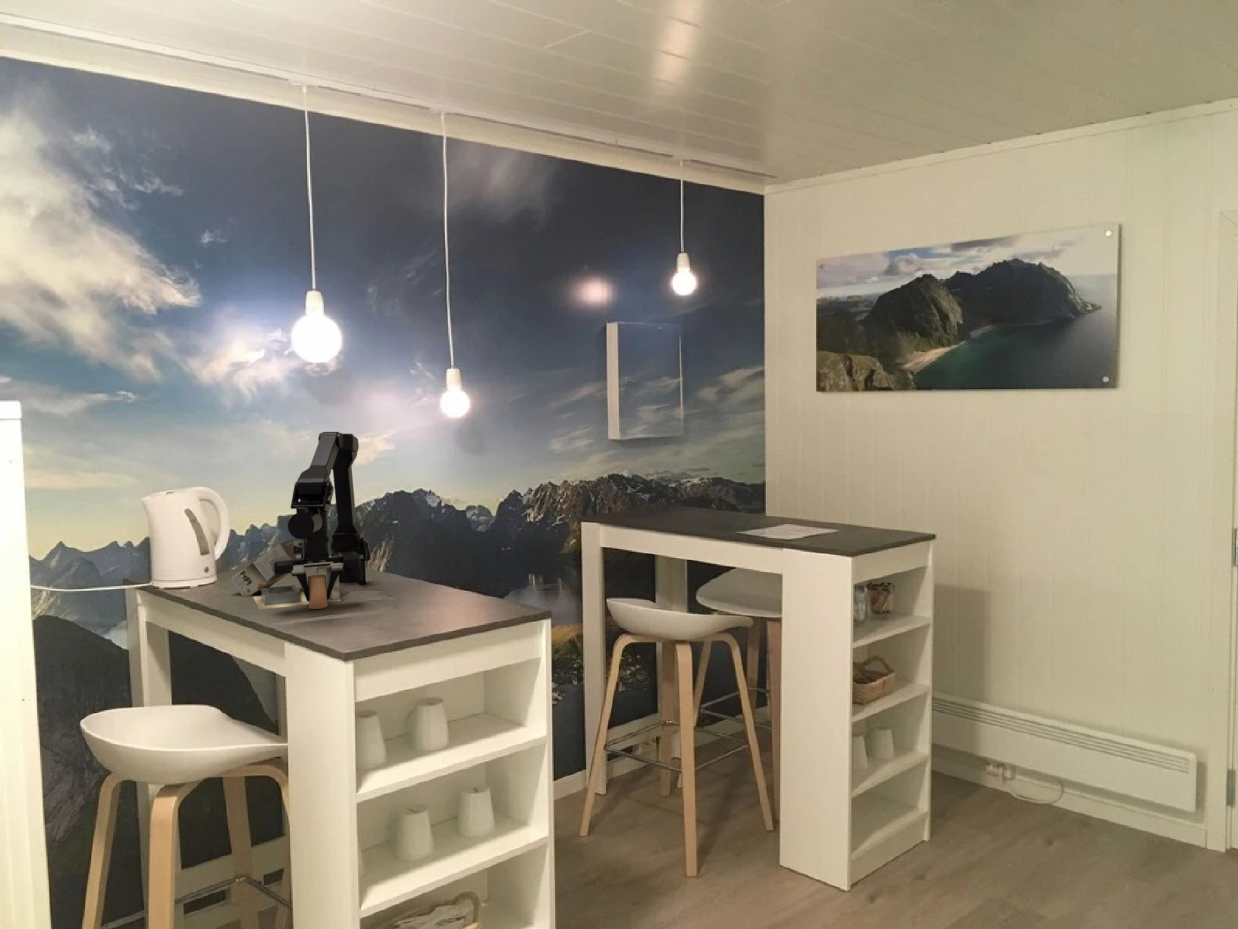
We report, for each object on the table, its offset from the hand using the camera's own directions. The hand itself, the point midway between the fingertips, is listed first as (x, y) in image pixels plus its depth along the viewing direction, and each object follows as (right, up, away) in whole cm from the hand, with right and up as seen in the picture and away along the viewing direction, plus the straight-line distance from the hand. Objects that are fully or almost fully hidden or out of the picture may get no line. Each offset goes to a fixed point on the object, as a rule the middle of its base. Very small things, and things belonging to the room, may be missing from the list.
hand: (317, 600), depth 221 cm
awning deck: (-8, -2, +10) cm, 13 cm away
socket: (-11, -1, +9) cm, 14 cm away
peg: (0, -2, 0) cm, 2 cm away
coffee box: (-23, +1, +19) cm, 30 cm away
